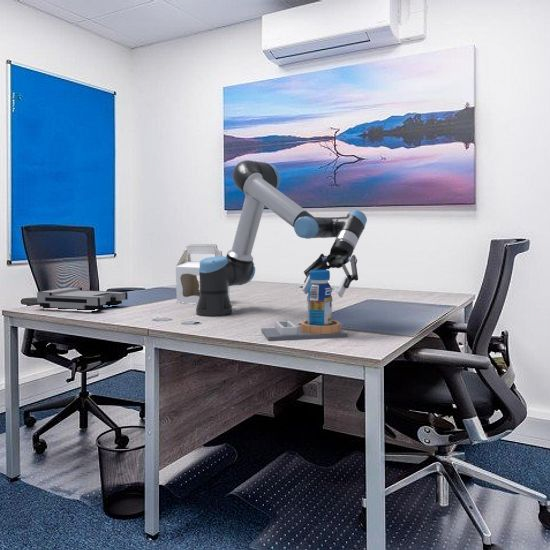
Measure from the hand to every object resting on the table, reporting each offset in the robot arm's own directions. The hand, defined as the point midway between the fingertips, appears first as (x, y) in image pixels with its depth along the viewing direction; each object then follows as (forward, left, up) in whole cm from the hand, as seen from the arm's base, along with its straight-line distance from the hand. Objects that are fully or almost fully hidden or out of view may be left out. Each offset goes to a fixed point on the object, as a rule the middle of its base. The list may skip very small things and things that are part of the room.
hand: (321, 293), depth 169 cm
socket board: (-6, 0, -14) cm, 15 cm away
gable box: (-35, +82, -14) cm, 91 cm away
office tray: (-89, +76, -14) cm, 118 cm away
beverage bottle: (0, +1, -13) cm, 13 cm away
